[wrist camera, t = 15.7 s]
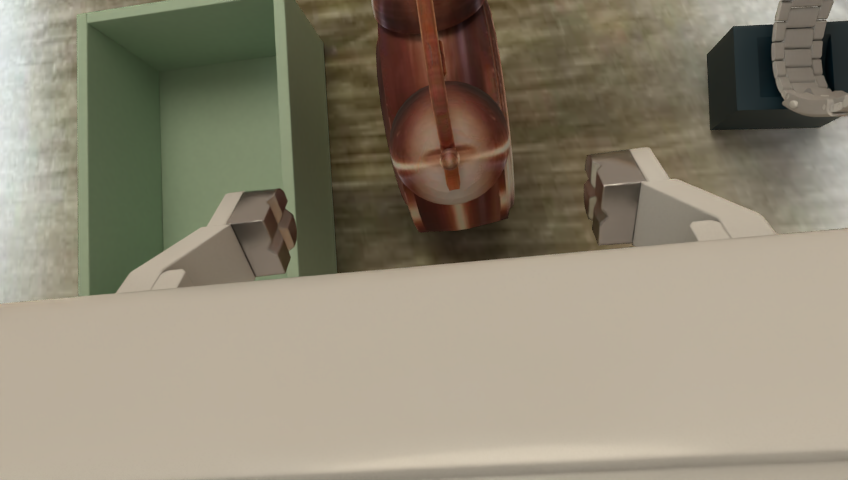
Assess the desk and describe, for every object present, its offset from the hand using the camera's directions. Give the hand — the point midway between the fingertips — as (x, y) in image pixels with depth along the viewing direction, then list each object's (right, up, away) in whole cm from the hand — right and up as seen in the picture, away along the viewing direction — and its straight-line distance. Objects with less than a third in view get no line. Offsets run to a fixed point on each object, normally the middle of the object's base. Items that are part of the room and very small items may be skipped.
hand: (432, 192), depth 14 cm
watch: (+18, +7, +15) cm, 24 cm away
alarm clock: (+2, +4, +16) cm, 17 cm away
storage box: (-11, +3, +18) cm, 21 cm away
